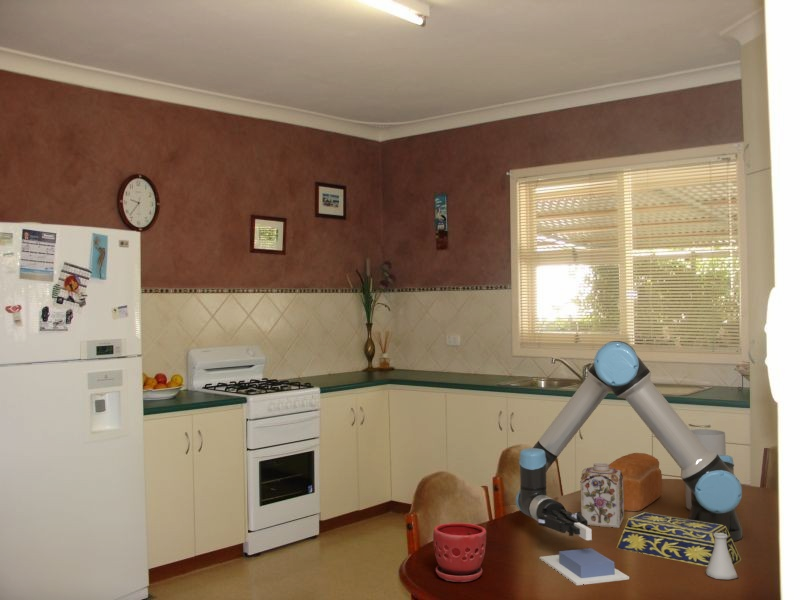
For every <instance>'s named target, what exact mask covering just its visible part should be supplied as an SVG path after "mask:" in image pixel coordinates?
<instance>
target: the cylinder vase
mask: <svg viewBox="0 0 800 600" xmlns="http://www.w3.org/2000/svg"><path fill="white" fill-rule="evenodd" d="M690 430H691V431H692V433H693V434H694V435H695V436H696V437H697V439H698V440H699V441H700V442H701V444H702V445H703V446H704V447H705V449H706V450H707V451H711V452H716V453H717V454H718V455H727V454H726V453H727V451H726V450H727V448H726V447H727V445H726V432H725V431H722V430H717V429H706V428H705V429H703V428H702V429H701V428H699V429H698V428H697V429H690ZM684 485H685V506H686V509H688V510H689V511H690V509H691V490H690V488H689V487H688V486H687V484H686V483H685V482H684Z"/></svg>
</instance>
